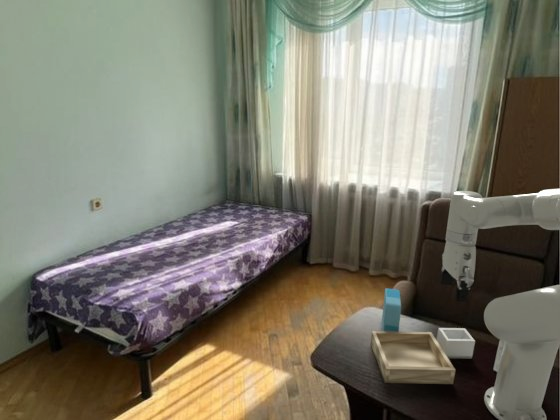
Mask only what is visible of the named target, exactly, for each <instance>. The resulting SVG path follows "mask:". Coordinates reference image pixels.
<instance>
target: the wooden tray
mask: <svg viewBox="0 0 560 420" xmlns="http://www.w3.org/2000/svg"><path fill="white" fill-rule="evenodd" d="M370 337H371V339H370V346H371V348H372V350H373V351H372V352H373V354H374V356H375V357H374V358H375V360H376V363H377V365H378V369H379V370H380V373H381V374H380V375H381V376H382V379H383V382H384V384H422V385H424V384H425V385H426V384H427V385H428V384H430V385H433V384H434V385H453V384H454V381H455V375H456V368H455V367H454V365H453V364H452V362H451V360H450V358H448V357H447V356H446V354H445V353H444V351H443V350H442V348H441V347H440V345H439V343H438V342H437V338H436V337H435V336H434V334H433V333H432V332H431V331H398V332H394V331H381V330H372V331H371V336H370Z"/></svg>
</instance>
